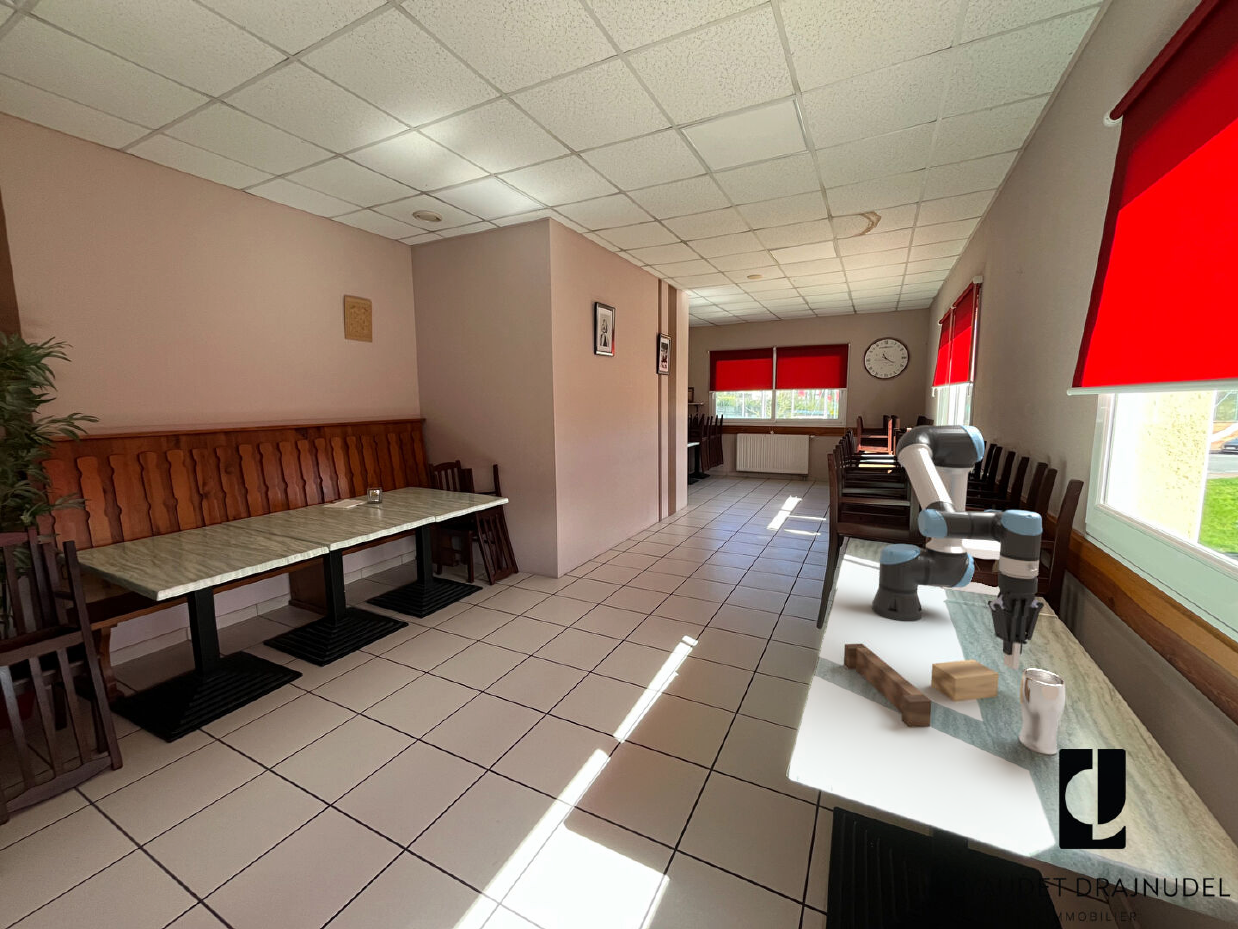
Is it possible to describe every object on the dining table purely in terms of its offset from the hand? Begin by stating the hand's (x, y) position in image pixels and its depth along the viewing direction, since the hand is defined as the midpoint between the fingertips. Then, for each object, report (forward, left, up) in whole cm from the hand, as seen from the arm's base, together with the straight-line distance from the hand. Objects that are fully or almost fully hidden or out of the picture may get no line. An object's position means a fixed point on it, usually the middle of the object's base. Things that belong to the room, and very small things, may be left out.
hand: (1011, 666), depth 121 cm
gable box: (-67, +47, -6) cm, 82 cm away
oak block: (0, -12, -6) cm, 13 cm away
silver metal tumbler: (+20, -12, -6) cm, 24 cm away
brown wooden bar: (-1, -31, -6) cm, 32 cm away
